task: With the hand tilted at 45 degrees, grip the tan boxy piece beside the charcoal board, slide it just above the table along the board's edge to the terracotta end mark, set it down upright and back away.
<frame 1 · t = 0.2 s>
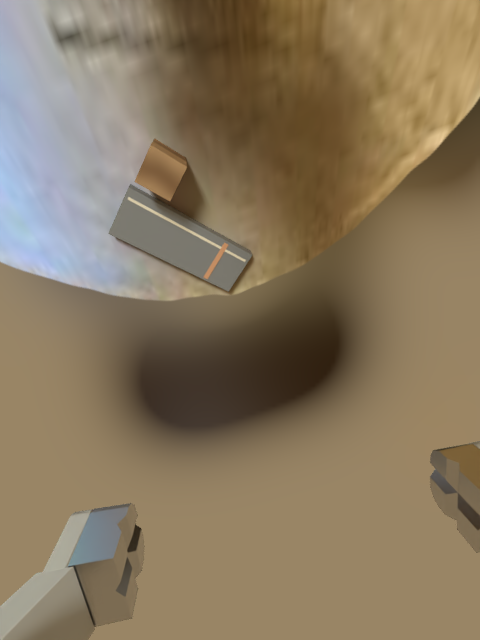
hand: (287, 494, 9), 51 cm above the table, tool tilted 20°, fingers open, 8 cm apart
board: (183, 240, 57), on the table
tan boxy piece: (163, 164, 51), on the table
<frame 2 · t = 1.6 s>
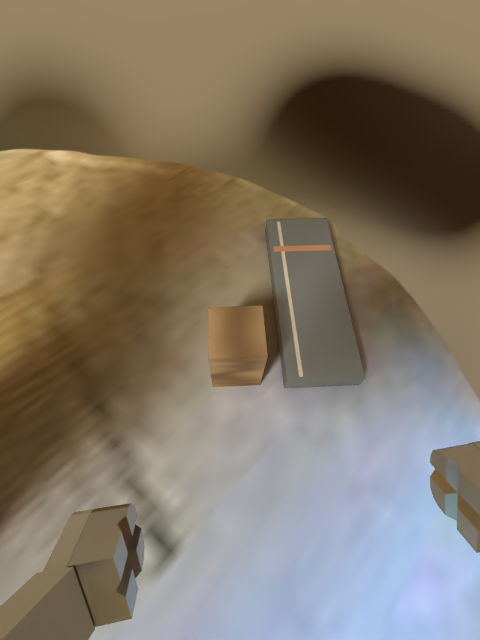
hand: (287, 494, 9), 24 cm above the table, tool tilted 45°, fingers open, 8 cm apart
board: (306, 298, 41), on the table
tan boxy piece: (235, 363, 37), on the table
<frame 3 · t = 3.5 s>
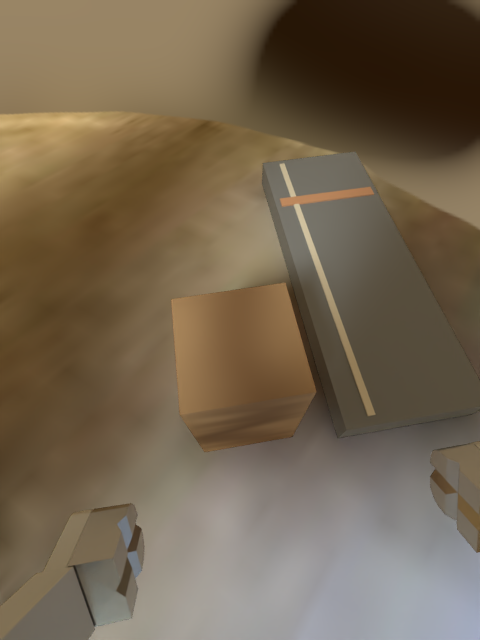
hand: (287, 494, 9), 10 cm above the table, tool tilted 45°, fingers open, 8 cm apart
board: (344, 274, 25), on the table
tan boxy piece: (241, 401, 20), on the table
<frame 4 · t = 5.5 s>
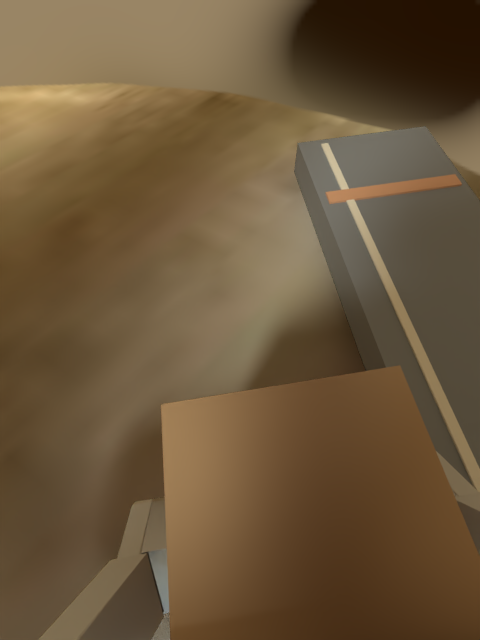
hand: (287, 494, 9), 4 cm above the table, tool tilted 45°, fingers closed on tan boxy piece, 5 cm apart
board: (423, 303, 17), on the table
tan boxy piece: (281, 517, 13), on the table, touching gripper
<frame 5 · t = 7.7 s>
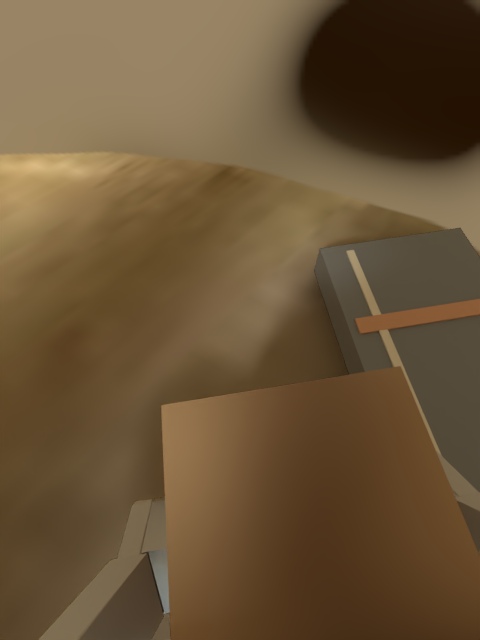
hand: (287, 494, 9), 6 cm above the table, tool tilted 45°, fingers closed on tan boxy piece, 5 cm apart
board: (468, 453, 15), on the table
tan boxy piece: (281, 518, 13), point 2 cm above the table, touching gripper
when the fingers open (5 cm above the table, at t = 9.8 s): tan boxy piece drops 1 cm, on the table.
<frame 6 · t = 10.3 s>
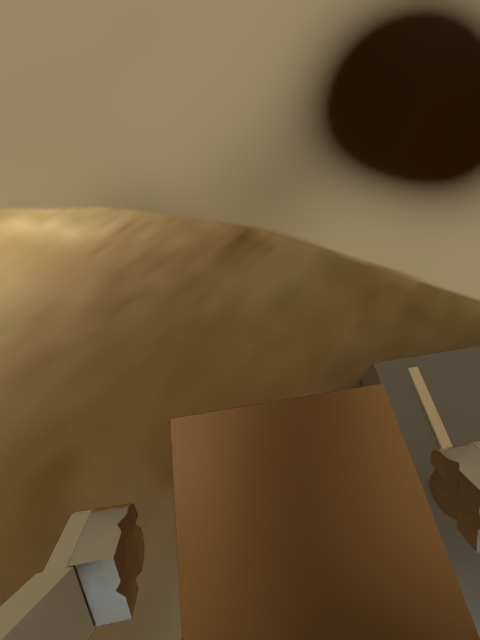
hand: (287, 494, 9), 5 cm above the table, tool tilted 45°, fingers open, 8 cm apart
tan boxy piece: (278, 518, 14), on the table
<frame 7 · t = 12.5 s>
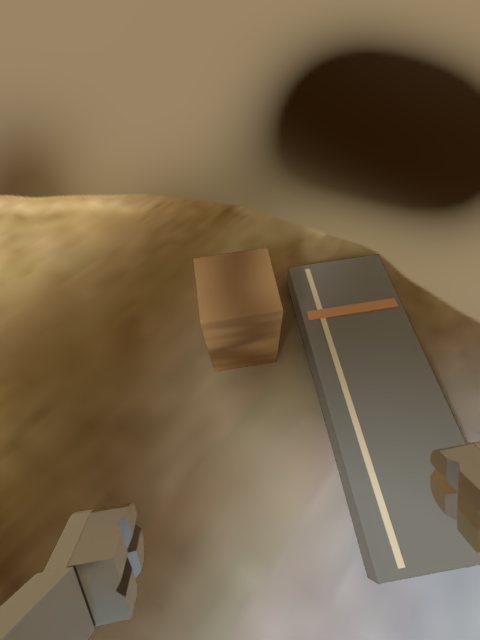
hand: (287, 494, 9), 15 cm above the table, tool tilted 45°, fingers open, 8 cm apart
board: (370, 389, 26), on the table
tan boxy piece: (240, 339, 28), on the table
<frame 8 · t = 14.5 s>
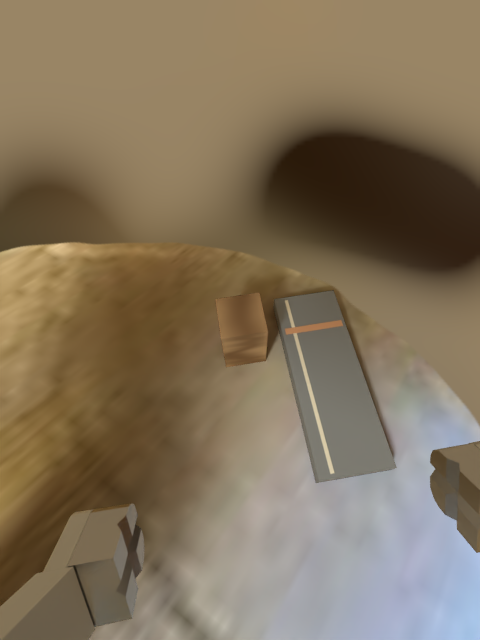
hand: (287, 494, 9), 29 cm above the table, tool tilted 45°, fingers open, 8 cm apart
board: (324, 378, 41), on the table
tan boxy piece: (242, 346, 44), on the table
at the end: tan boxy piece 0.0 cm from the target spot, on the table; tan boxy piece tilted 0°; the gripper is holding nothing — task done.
